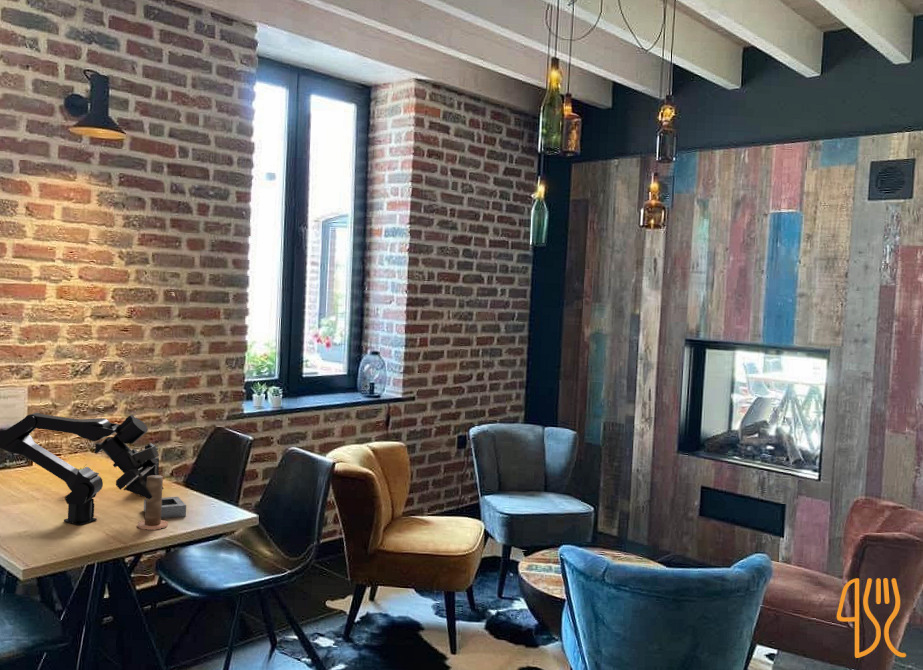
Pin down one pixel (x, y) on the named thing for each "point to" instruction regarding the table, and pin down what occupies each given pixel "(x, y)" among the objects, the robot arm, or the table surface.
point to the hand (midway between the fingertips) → (156, 493)
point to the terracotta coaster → (143, 526)
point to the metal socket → (171, 507)
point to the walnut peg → (154, 500)
